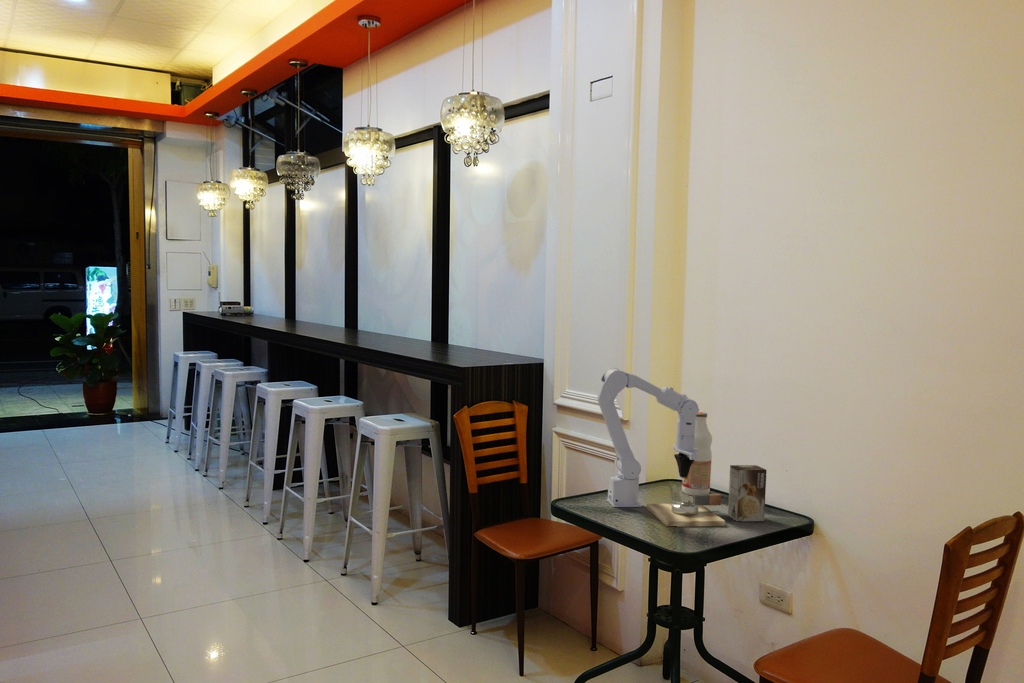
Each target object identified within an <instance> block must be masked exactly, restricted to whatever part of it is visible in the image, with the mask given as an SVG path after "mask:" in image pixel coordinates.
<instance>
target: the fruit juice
mask: <svg viewBox="0 0 1024 683" xmlns="http://www.w3.org/2000/svg"><path fill="white" fill-rule="evenodd" d="M707 418H708V413H707V412H701V411H699V412H698V414H697V415H696V421H695V422H696V425H695V443H694V448H696V449H697V450H698V451H697V452H695V453H696V454H697V460H694V461H693V463H692V465H691V467H690V470H689V473H688V476H687V477H681V478H682V479H681V492H683V494H685V495H690V496H693V495H706V494H710V490H711V474H712V473H711V471H712V458H713V454H712V450H711V446H712V443H713V436H712V435H713V434H712V433H711V432H710V430H709V428H708V424H707Z"/></svg>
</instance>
